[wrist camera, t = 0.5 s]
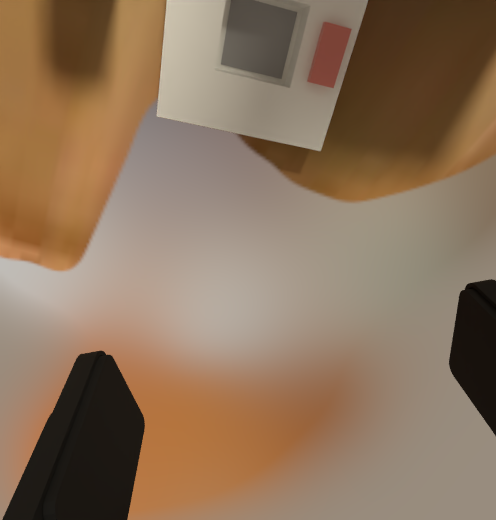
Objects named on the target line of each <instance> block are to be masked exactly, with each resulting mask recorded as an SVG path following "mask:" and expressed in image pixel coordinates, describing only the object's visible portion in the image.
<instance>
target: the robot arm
mask: <svg viewBox="0 0 496 520" xmlns="http://www.w3.org/2000/svg"><path fill="white" fill-rule="evenodd" d="M449 365H450V369H451V372H452V374H453V375H454V377H455V379H456V380H457V381H458V383H459V384H460V386H461V387H462V388H463V390H464V391H465V393H466V394H467V396H468V397H469V398H470V400H471V401H472V403H473V404H474V406H475V407H476V408H477V410H478V411H479V413H480V414H481V415H482V417H483V418H484V420H485V421H486V423H487V424H488V425H489V427H490V428H491V430H492V431H493V433H494V434H495V435H496V281H495V280H492V279H491V280H485V281H480V282H474V283H469V284H467V286H466V288H465V290H462V291H461V292H460V296H459V302H458V308H457V314H456V321H455V327H454V333H453V341H452V347H451V353H450V359H449ZM144 424H145V423H144V417H143V415H142V413H141V411H140V409H139V407H138V405H137V403H136V401H135V399H134V397H133V395H132V393H131V391H130V390H129V388H128V386H127V384H126V382H125V380H124V378H123V376H122V374H121V372H120V370H119V368H118V366H117V364H116V362H115V361H114V359H113V357H112V356H111V355H106V354H105V352H103V351H96V352H91V353H85V354H80V355H79V356H78V358H77V359H76V361H75V363H74V366H73V368H72V370H71V373H70V375H69V377H68V379H67V381H66V384H65V386H64V388H63V390H62V392H61V395H60V397H59V399H58V401H57V404H56V406H55V408H54V410H53V413H52V414H51V415H50V417H49V418H48V420H47V422H46V424H45V427H44V429H43V431H42V433H41V435H40V438H39V440H38V442H37V444H36V447H35V449H34V451H33V453H32V455H31V458H30V460H29V462H28V464H27V467H26V469H25V471H24V473H23V475H22V477H21V480H20V482H19V484H18V486H17V489H16V491H15V493H14V495H13V497H12V500H11V502H10V504H9V506H8V508H7V511H6V513H5V515H4V517H3V520H127V518H128V513H129V507H130V502H131V497H132V492H133V486H134V481H135V476H136V471H137V466H138V460H139V455H140V450H141V445H142V439H143V434H144V427H145V425H144Z"/></svg>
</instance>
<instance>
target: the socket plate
mask: <svg viewBox="0 0 496 520" xmlns="http://www.w3.org/2000/svg"><path fill="white" fill-rule="evenodd" d="M367 3H368V0H167V5H166V16H165V28H164V39H163V50H162V61H161V73H160V84H159V95H158V106H157V117H162V118H166V119H171V120H176V121H180V122H185V123H190V124H195V125H199V126H204V127H209V128H213V129H218V130H223V131H227V132H232V133H237V134H242V135H246V136H251V137H256V138H260V139H265V140H270V141H274V142H279V143H284V144H289V145H293V146H298V147H303V148H307V149H312V150H317V151H321V149H322V146H323V142H324V139H325V136H326V133H327V130H328V127H329V123H330V120H331V117H332V114H333V111H334V108H335V104H336V101H337V98H338V95H339V92H340V89H341V85H342V82H343V79H344V76H345V73H346V70H347V66H348V63H349V60H350V57H351V54H352V51H353V47H354V44H355V41H356V38H357V35H358V32H359V28H360V25H361V22H362V19H363V16H364V13H365V9H366V6H367Z"/></svg>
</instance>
